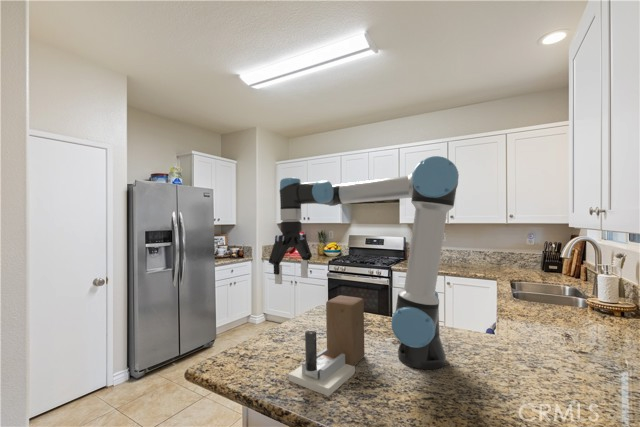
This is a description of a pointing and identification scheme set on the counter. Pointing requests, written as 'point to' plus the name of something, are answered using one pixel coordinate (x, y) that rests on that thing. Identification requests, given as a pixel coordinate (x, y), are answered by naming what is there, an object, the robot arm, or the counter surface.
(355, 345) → the wooden block
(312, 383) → the base
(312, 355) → the ram handle
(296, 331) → the counter surface
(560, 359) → the counter surface
